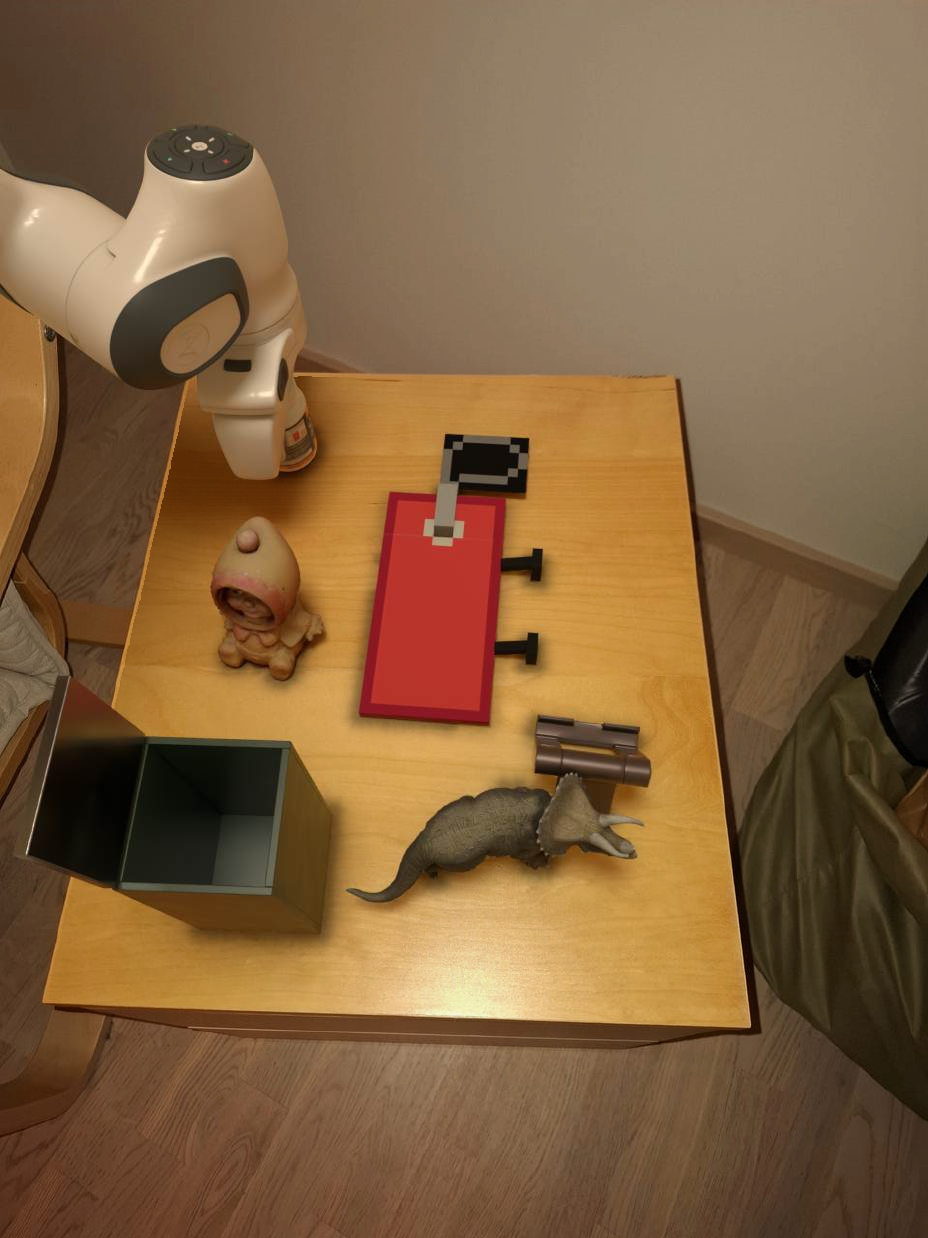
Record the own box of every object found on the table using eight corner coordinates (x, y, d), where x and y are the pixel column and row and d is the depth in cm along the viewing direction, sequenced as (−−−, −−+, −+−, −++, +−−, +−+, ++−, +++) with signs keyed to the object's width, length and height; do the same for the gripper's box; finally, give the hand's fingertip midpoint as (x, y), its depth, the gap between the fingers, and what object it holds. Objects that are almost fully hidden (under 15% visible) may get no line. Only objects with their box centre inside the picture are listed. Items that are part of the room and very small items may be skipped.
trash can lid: (70, 674, 48) (56, 674, 48) (26, 855, 44) (11, 855, 44) (145, 733, 57) (133, 733, 57) (115, 888, 53) (102, 888, 53)
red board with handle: (547, 444, 90) (399, 436, 91) (549, 427, 88) (397, 419, 88) (532, 730, 78) (360, 718, 78) (533, 719, 75) (356, 707, 76)
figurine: (202, 668, 80) (168, 553, 69) (233, 605, 85) (207, 488, 73) (309, 690, 79) (292, 578, 68) (335, 626, 84) (323, 511, 72)
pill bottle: (329, 449, 90) (314, 383, 82) (287, 484, 89) (267, 420, 80) (291, 418, 92) (272, 350, 83) (249, 452, 90) (225, 386, 81)
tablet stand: (638, 733, 77) (656, 699, 70) (633, 824, 74) (652, 798, 66) (536, 721, 78) (543, 685, 70) (527, 810, 75) (533, 783, 67)
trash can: (332, 813, 74) (290, 740, 57) (320, 934, 70) (271, 895, 53) (218, 809, 75) (142, 735, 57) (200, 930, 71) (111, 890, 53)
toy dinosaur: (352, 913, 71) (333, 890, 61) (346, 807, 75) (327, 770, 65) (626, 881, 72) (651, 854, 62) (607, 779, 76) (628, 737, 66)
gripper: (231, 229, 79) (263, 341, 91) (192, 416, 70) (234, 512, 82) (303, 230, 79) (325, 342, 91) (273, 418, 70) (302, 514, 82)
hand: (282, 424), depth 87 cm, fingers closed on pill bottle, 6 cm apart
